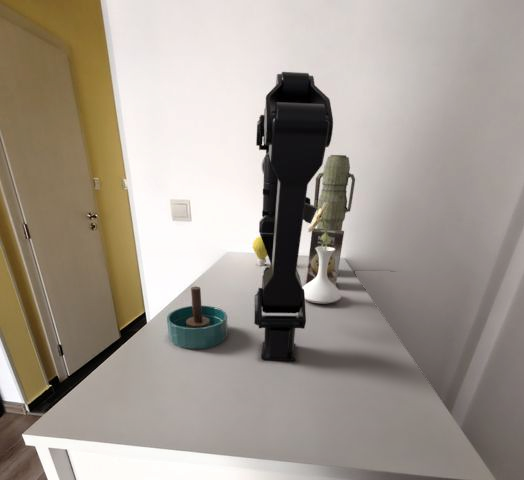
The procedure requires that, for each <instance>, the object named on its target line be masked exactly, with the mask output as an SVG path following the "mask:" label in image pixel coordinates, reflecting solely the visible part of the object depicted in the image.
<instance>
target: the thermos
mask: <svg viewBox="0 0 524 480" xmlns="http://www.w3.org/2000/svg"><path fill="white" fill-rule="evenodd" d="M350 169H351V165H350V158H349V157H348V156H347V155H345V154H330V155H329V156H327V158H326V160H325V163H324V166H323V171H322V172H320V173H318V174H317V175H316V177H315V187H314V200H313V206H315V207H316V208H317V211H316V215H317V214H318V211H319V209H320V208H321V209H322V207H323V204H324V203H327V202H328V203H329V204H328V207H327V210H326V212H325V213H324V215H323V221H324V223H325V226H326V229H328V230H340V231H343V230H342V229H343V225H344V224H343V223H344V221H345V219H346V214H347V213H350V212H351V209H352V205H353V197H354V191H355V184H356V178H355V175H354V174H353V173H350V171H351V170H350ZM349 178H350V179H351V185H350V191H349V192H350V193H349V197H347V188H348V185H349ZM321 179H322V181H321ZM321 182H322V188H321ZM320 188H321V190H320ZM320 191H321V192H320ZM316 228H317V229H325V228H324V225H323V223H322V221H321V222H319V223H318V224H317V226H316Z"/></svg>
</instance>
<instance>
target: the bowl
mask: <svg viewBox="0 0 524 480" xmlns="http://www.w3.org/2000/svg"><path fill="white" fill-rule="evenodd" d="M201 306H202V316H203V317H207V318H208V319H209V320H210V326H208V327H203V328H187V327H186V320H187V319H189V318H191V317H193V308H192V305H188V306H181V307H180V308H176V309H174V310H172V311H171V312H169V313H168V315H167V316H166V323H167V324H166V325H167V332H168V339H169V340H170V341H171V343H173V344H174V345H175V346H177V347H180V348H183V349H188V350H202V349H203V350H204V349H208V348H213V347H215V346H218V345H219V344H222V342H224V340H226V338H227V336H228V315H227V313H226V311H225V310H223V309H221V308H219V307H216V306H211V305H204V304H203V305H202V304H201Z"/></svg>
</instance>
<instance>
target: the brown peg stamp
mask: <svg viewBox="0 0 524 480" xmlns="http://www.w3.org/2000/svg"><path fill="white" fill-rule="evenodd" d="M190 292H191V293H190V294H191V295H190V296H191V306H192V308H193V317H191V318H189V319H187V320H186V327H187V328H203V327H208V326H210V320H209V319H208V318H207V317H203V316H202V306H201V305H202V291H201V287H200V286H191V287H190Z"/></svg>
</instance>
